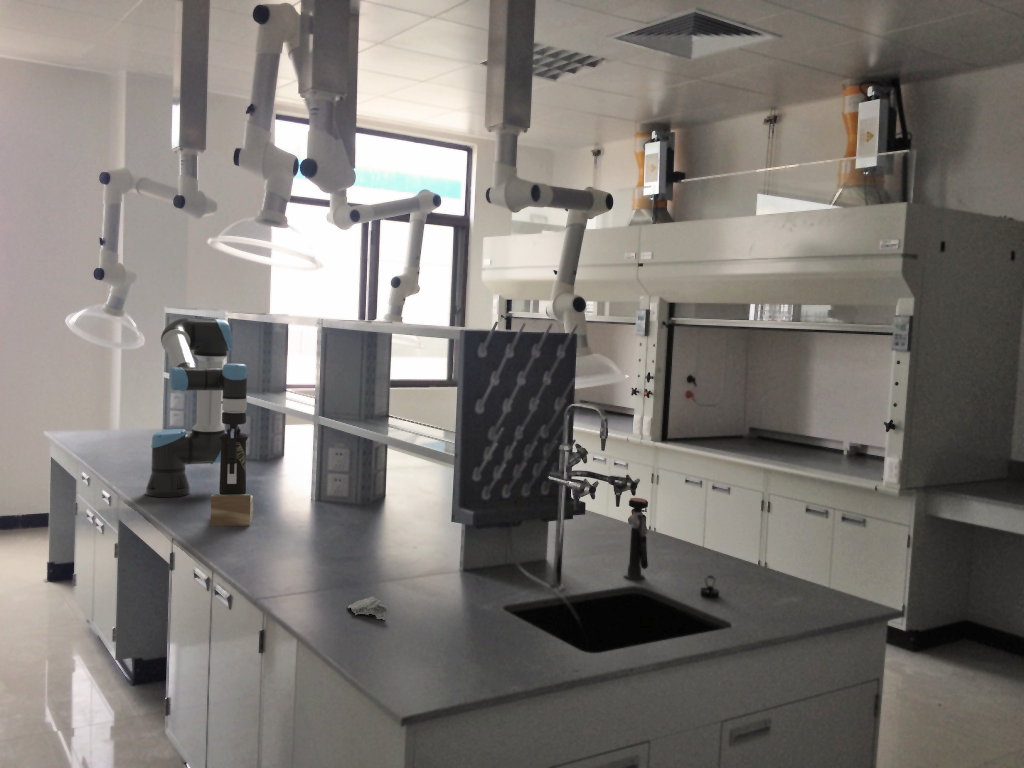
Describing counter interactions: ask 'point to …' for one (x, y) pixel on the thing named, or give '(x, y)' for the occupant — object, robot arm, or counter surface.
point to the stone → (369, 607)
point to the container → (241, 466)
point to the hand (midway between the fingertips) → (232, 480)
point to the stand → (231, 509)
